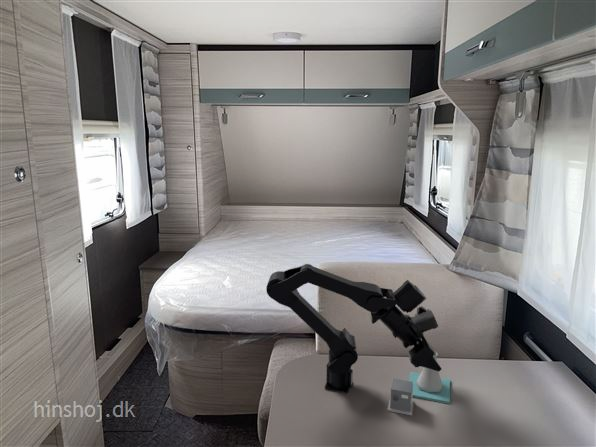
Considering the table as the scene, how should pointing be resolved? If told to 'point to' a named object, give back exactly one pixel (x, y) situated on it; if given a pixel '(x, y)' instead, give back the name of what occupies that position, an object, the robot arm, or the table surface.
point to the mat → (434, 396)
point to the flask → (430, 379)
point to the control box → (401, 397)
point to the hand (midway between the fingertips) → (436, 360)
